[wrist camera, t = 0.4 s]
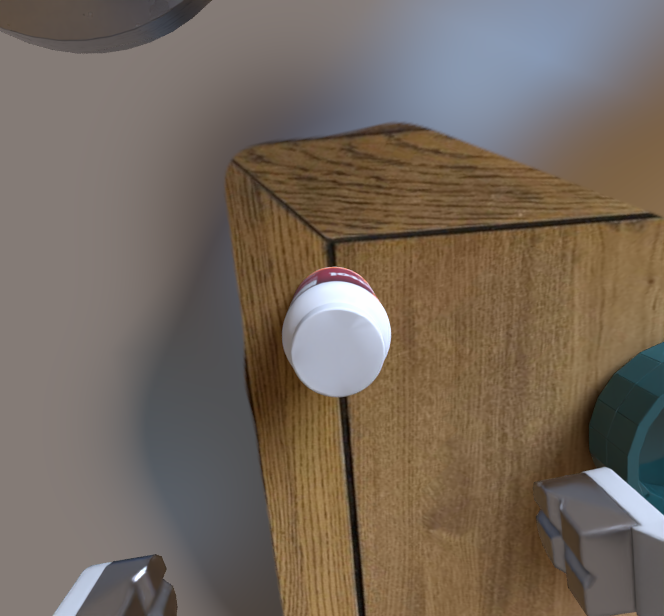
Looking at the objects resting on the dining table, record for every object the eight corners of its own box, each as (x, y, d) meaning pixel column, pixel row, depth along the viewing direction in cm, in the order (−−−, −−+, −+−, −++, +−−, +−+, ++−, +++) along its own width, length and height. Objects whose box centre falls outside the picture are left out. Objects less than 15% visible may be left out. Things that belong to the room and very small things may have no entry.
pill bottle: (392, 302, 31) (428, 348, 21) (338, 361, 32) (344, 436, 21) (329, 247, 30) (332, 266, 20) (275, 310, 31) (249, 361, 20)
